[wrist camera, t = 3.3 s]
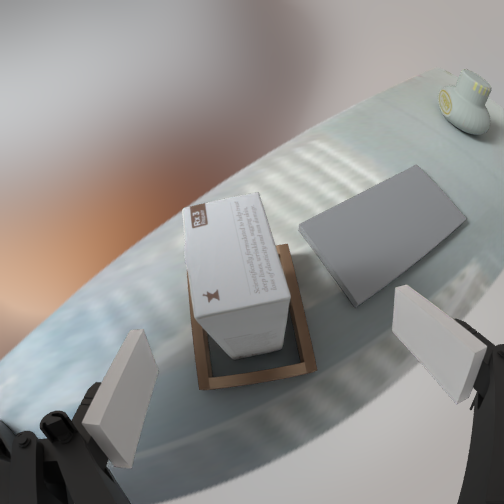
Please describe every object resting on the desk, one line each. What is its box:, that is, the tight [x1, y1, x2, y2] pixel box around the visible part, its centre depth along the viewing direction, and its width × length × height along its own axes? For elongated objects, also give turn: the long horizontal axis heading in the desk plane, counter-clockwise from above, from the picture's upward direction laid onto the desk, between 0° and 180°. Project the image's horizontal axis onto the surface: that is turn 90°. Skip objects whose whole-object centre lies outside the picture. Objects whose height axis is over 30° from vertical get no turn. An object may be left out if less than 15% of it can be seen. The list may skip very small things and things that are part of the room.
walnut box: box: [187, 244, 317, 390], centre depth 23 cm, size 9×11×2 cm
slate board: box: [299, 165, 467, 308], centre depth 27 cm, size 18×9×1 cm, turn 119°
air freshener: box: [438, 69, 491, 135], centre depth 33 cm, size 11×8×10 cm
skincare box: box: [182, 192, 291, 360], centre depth 18 cm, size 6×4×12 cm
